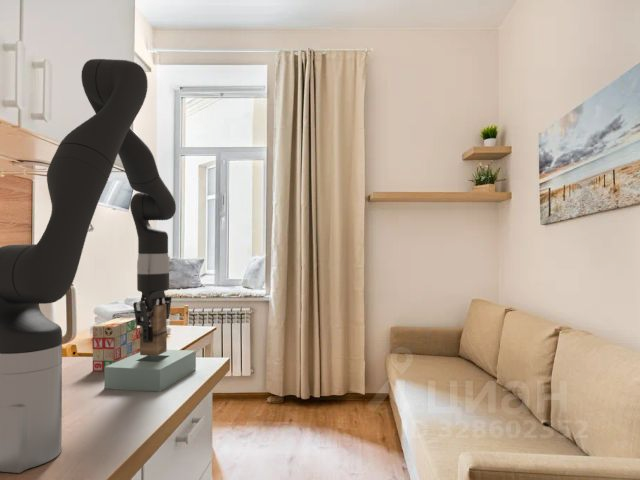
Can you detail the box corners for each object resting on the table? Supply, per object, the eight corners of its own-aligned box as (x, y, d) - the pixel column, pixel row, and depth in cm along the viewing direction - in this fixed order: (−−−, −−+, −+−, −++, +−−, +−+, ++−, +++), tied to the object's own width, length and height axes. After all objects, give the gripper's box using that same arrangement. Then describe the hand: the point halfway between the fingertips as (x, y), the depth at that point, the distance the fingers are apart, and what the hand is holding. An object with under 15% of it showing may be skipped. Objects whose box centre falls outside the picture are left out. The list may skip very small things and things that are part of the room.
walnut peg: (157, 355, 106) (156, 306, 107) (139, 355, 107) (139, 306, 107) (166, 351, 111) (166, 304, 111) (150, 350, 112) (150, 303, 112)
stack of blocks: (132, 352, 137) (132, 313, 137) (152, 352, 136) (151, 313, 137) (92, 371, 115) (92, 325, 116) (114, 372, 115) (114, 325, 115)
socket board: (160, 391, 99) (160, 369, 99) (104, 388, 101) (104, 366, 101) (195, 369, 117) (195, 350, 117) (147, 367, 119) (147, 349, 119)
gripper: (151, 273, 102) (151, 347, 101) (181, 270, 116) (181, 334, 116) (122, 273, 103) (122, 346, 103) (155, 270, 117) (155, 333, 117)
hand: (153, 339), depth 109 cm, fingers closed on walnut peg, 4 cm apart
